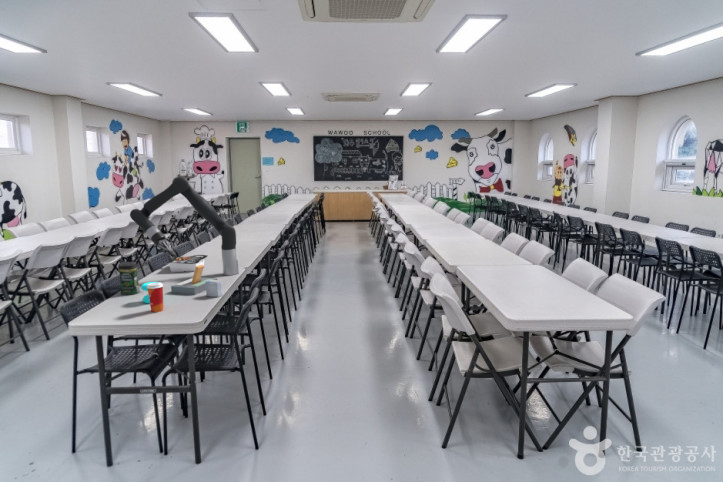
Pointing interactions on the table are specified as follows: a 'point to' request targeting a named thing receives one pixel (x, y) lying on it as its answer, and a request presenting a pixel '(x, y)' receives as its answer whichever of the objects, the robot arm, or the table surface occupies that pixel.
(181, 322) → the table surface
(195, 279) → the breaker lever
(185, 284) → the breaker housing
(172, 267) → the food packaging
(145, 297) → the donuts
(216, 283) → the medicine box
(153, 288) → the paper cup
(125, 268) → the coffee jar
